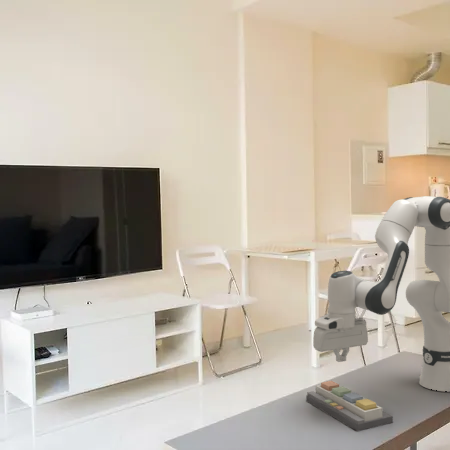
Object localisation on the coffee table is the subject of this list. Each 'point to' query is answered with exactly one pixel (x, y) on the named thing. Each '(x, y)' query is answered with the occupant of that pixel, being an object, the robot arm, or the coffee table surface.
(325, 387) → the key terracotta
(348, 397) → the key slate
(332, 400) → the coloured button panel
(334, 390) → the key sage
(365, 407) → the key ochre
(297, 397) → the coffee table surface
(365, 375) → the coffee table surface
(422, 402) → the coffee table surface
